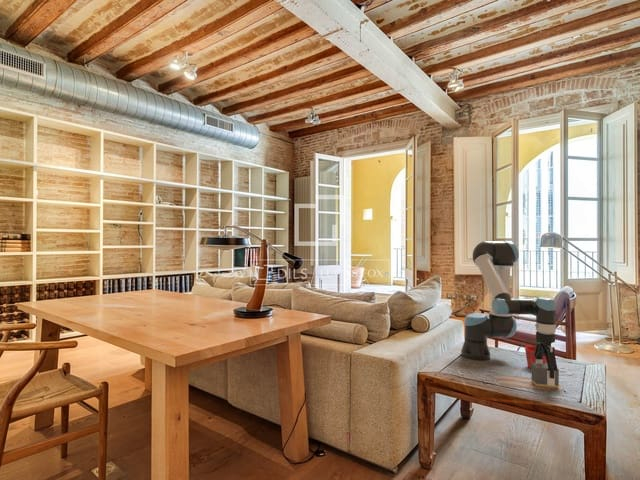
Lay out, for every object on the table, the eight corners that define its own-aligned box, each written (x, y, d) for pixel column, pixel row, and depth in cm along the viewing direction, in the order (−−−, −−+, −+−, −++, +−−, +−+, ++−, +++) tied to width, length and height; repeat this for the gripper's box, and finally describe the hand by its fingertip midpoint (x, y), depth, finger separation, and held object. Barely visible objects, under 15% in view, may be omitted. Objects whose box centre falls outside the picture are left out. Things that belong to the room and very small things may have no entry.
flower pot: (542, 364, 194) (542, 346, 194) (553, 372, 184) (553, 352, 183) (521, 363, 196) (521, 345, 195) (530, 371, 185) (531, 352, 184)
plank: (493, 376, 177) (493, 374, 177) (553, 381, 172) (553, 379, 172) (500, 387, 164) (500, 385, 164) (565, 393, 159) (565, 391, 159)
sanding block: (531, 380, 170) (531, 363, 170) (552, 382, 169) (553, 364, 169) (536, 385, 165) (536, 367, 164) (558, 387, 163) (558, 369, 163)
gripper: (526, 325, 179) (526, 368, 180) (547, 339, 155) (546, 389, 155) (543, 325, 178) (543, 369, 178) (567, 340, 153) (566, 391, 154)
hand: (544, 379), depth 167 cm, fingers open, 13 cm apart
